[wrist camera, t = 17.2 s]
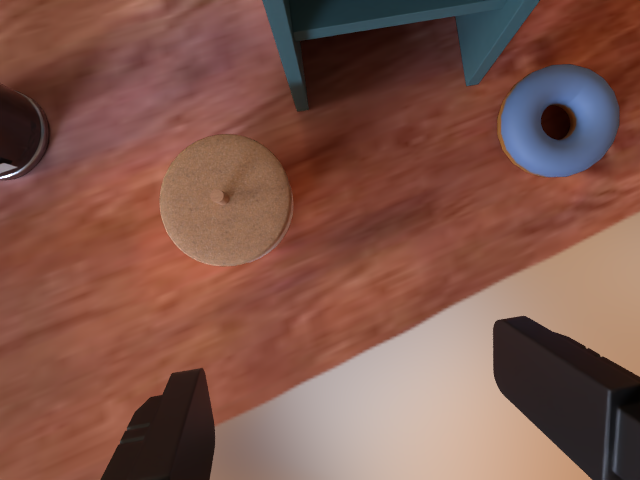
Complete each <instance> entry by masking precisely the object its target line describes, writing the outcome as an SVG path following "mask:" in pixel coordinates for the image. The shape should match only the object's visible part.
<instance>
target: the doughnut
mask: <svg viewBox="0 0 640 480" xmlns="http://www.w3.org/2000/svg"><path fill="white" fill-rule="evenodd" d="M549 105H555V106H559V107H561V108H562V109H564V110H565V112H566V113H567V114H568V116H569V119H570V129H569V132H568V133H567V135H566V136H565V137H564V138H563V139H561V140H556V139H552V138H550V137H549V136H547V135H546V133H545V132H544V131H543V129H542V126H541V116H542V113H543V111H544V110H545V108H547V107H548V106H549ZM618 127H619V105H618V102H617V99H616V96H615V93H614V91H613V90H612V89H611V87H610V86H609V85H608V83H607V82H606V81H605V79H604V78H602V77H601V76H599V75H598V74H596V73H595V72H593V71H592V70H590V69H587V68H583V67H580V66H576V65H572V64H562V65H551V66H548V67H545V68H543V69H540V70H537V71H535V72H532V73H531V74H528V75H527V76H526V77H524V78H523V79H522V80H521V81H519V82H518V83H517V84H515V85H514V86H513V88H512V89H511V91H510V92H509V93H508V95H507V96H506V98H505V99H504V100H503V102H502V105H501V108H500V111H499V114H498V117H497V135H498V138H499V141H500V144H501V147H502V150H503V151H504V153H505V154H506V155H507V157H508V158H509V159H510V160H511V162H512V163H513V164H515V165H516V166H518V167H519V168H520V169H522V170H523V171H525V172H527V173H530V174H534V175H537V176H541V177H567V176H570V175H573V174H576V173H579V172H581V171H584V170H586V169H588V168H589V167H591V166H592V165H593V164H595V163H596V162H597V161H599V160H600V159H601V158H602V157H603V156H604V155H605V153H606V152H607V151H608V149H609V148H610V146H611V145H612V144H613V142H614V139H615V136H616V133H617V130H618Z"/></svg>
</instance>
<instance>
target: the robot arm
mask: <svg viewBox="0 0 640 480" xmlns="http://www.w3.org/2000/svg"><path fill="white" fill-rule="evenodd" d="M48 140H49V126H48V121H47V118H46V116H45V114H44V112H43V110H42V109H41V107H40V106H39V105H38V104H37V103H36V102H35V101H34V100H33V99H31V98H29V97H28V96H26V95H24V94H22V93H20V92H18V91H15V90H12V89H10V88H8V87H7V86H5V85H3V84H1V83H0V180H11V179H15V178H18V177H21V176H23V175H25V174H26V173H28V172H29V171H31V170H32V169H33V168H34V167H35V166H36V165H37V164H38V163H39V161H40V160H41V158H42V157H43V155H44V153H45V151H46V148H47V145H48ZM493 367H494V369H493V370H494V377H495V381H496V383H497V386H498V388H499V389H500V391H501V392H502V394H503V395H504V396H505V397H506V398H507V399H508V400H510V402H511V403H513V404H514V405H515V406H516V407H517V408H518V409H519V410H520V411H521V412H522V413H523V414H524V415H525V416H526V417H527V418H528V419H529V420H530V421H531V422H533V423H534V424H535V425H536V426H537V427H538V428H539V429H540V430H541V431H542V432H543V433H544V434H545V435H546V436H547V437H548V438H549V439H550V440H552V442H553V443H554V444H556V445H557V446H558V447H559V448H560V449H561V450H562V451H563V452H564V453H565V454H566V455H567V456H568V457H569V458H570V459H571V460H572V461H573V462H574V463H575V464H577V465H578V466H579V467H580V468H581V469H582V470H583V471H584V472H585V473H586V474H587V475H588V476H589V477H590V478H591V479H592V480H640V377H639V376H637V375H635V374H633V373H632V372H630V371H628V370H626V369H625V368H623V367H621V366H619V365H617V364H616V363H614V362H612V361H610V360H609V359H607V358H605V357H600V355H599V354H598V353H596V352H594V351H593V350H591V349H589V348H588V349H586V347H585V346H584V345H582V344H580V343H578V342H577V341H575V340H573V339H571V338H570V337H567V336H564V335H561V334H558V333H555V332H552V331H551V330H549V329H547V328H545V327H544V326H542V325H540V324H538V323H537V322H535V321H533V320H531V319H530V318H528V317H526V316H520V317H514V318H507V319H501V320H497V321H496V322H495V324H494V328H493ZM214 448H215V428H214V420H213V414H212V409H211V403H210V397H209V392H208V386H207V381H206V375H205V372H204V370H203V368H200V369H194V370H188V371H182V372H176V373H172V374H171V376H170V378H169V381H168V383H167V385H166V388H165V390H164V392H163V395H160V396H154V397H150V398H149V399H148V400H147V401H146V402H145V403H144V404H143V405H142V406H141V407H140V408H139V409H138V410H137V411H135V413H134V415H133V417H132V419H131V421H130V423H129V425H128V427H127V431H125V433H124V435H123V437H122V439H121V441H120V445H118V447H117V449H116V450H115V452H114V454H113V456H112V458H111V460H110V462H109V464H108V466H107V468H106V470H105V472H104V474H103V476H102V478H101V480H209V479H210V473H211V467H212V461H213V455H214Z"/></svg>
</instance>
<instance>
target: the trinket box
mask: <svg viewBox="0 0 640 480" xmlns="http://www.w3.org/2000/svg"><path fill="white" fill-rule="evenodd" d="M160 212H161V217H162V221H163V224H164V227H165V229H166V231H167V233H168V235H169V237H170V238H171V240H172V241H173V242H174V243H175V245H176V246H177V247H178V248H179V249H180V250H181V251H183V252H184V253H185V254H186V255H188V256H189V257H191V258H192V259H195V260H197V261H199V262H201V263H205V264H209V265H213V266H236V265H240V264H245V263H248V262H252V261H254V260H257V259H259V258H261V257H263V256H264V255H266V254H268V253H269V252H270V251H272V250H273V249H274V248H275V247H276V246H277V245H278V244H279V243H280V242H281V241H282V239H283V238H284V236H285V234H286V233H287V231H288V228H289V226H290V223H291V220H292V216H293V194H292V190H291V186H290V183H289V180H288V177H287V175H286V172H285V170H284V168H283V167H282V165H281V163H280V162H279V160H278V159H277V158H276V157H275V156H274V154H273V153H272V152H271V151H269V150H268V149H267V148H266V147H265V146H263V145H262V144H260V143H258V142H257V141H255V140H252V139H250V138H248V137H244V136H240V135H233V134H221V135H214V136H210V137H206V138H204V139H201V140H199V141H197V142H195V143H193V144H192V145H190V146H188V147H187V148H186V149H185V150H183V151H182V152H181V153H180V154H179V155H178V156H177V157H176V159H175V160H174V161H173V162H172V164H171V165H170V167H169V169H168V170H167V173H166V175H165V177H164V179H163V183H162V186H161V192H160Z"/></svg>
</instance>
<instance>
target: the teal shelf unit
mask: <svg viewBox="0 0 640 480" xmlns="http://www.w3.org/2000/svg"><path fill="white" fill-rule="evenodd" d="M262 1H263V4H264V7H265V10H266V13H267V17H268V20H269V23H270V26H271V29H272V33H273V36H274V39H275V42H276V45H277V49H278V52H279V55H280V58H281V61H282V65H283V68H284V71H285V74H286V77H287V81H288V84H289V87H290V90H291V93H292V97H293V100H294V103H295V106H296V109H297V112H298V111H305V110H309V107H308V99H307V91H306V83H305V75H304V68H303V60H302V52H301V44H300V41H303V40H309V39H315V38H322V37H328V36H334V35H340V34H347V33H353V32H359V31H365V30H372V29H378V28H384V27H390V26H396V25H403V24H409V23H415V22H421V21H428V20H434V19H440V18H446V17H452V16H455V18H456V25H457V31H458V37H459V43H460V50H461V56H462V62H463V68H464V75H465V81H466V86H470V85H477V84H479V83H480V81H481V80H482V79H483V77H484V76H485V74H486V73H487V72H488V70H489V69H490V68H491V66H492V65H493V64H494V62H495V61H496V60H497V58H498V57H499V55H500V54H501V53H502V51H503V50H504V49H505V47H506V46H507V45H508V43H509V42H510V40H511V39H512V38H513V36H514V35H515V34H516V32H517V31H518V30H519V28H520V27H521V26H522V24H523V23H524V21H525V20H526V19H527V17H528V16H529V15H530V13H531V12H532V11H533V9H534V8H535V6H536V5H537V4H538V2H539V1H540V0H262Z"/></svg>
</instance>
